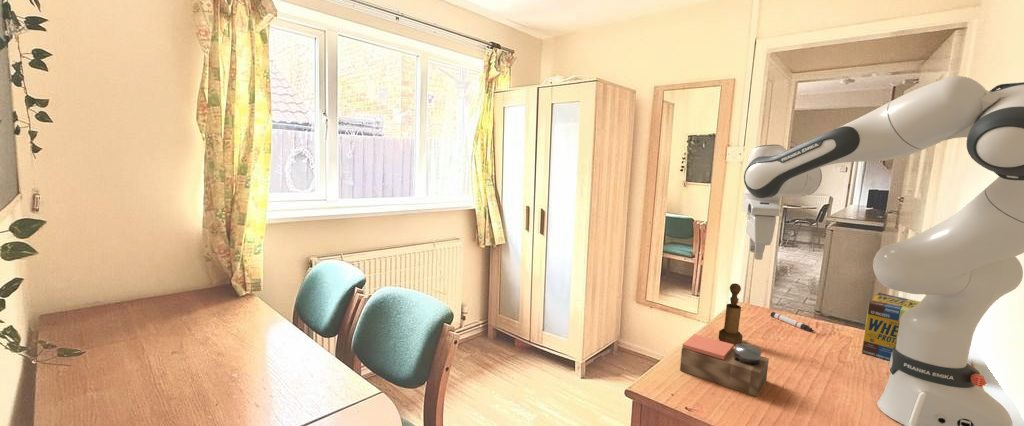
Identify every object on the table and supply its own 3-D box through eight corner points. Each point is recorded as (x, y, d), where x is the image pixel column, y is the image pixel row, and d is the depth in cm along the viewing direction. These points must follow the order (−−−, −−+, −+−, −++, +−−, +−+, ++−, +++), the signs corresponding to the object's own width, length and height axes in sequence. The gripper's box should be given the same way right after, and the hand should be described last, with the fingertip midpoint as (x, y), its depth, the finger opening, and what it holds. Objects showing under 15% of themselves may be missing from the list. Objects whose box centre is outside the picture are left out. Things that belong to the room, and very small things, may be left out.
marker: (770, 317, 154) (770, 311, 154) (774, 316, 155) (774, 311, 154) (811, 334, 140) (812, 328, 139) (816, 333, 140) (816, 327, 140)
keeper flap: (733, 348, 112) (733, 344, 112) (723, 359, 106) (724, 355, 106) (694, 337, 119) (694, 333, 119) (682, 347, 112) (682, 344, 112)
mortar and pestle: (745, 346, 128) (751, 288, 126) (721, 344, 130) (727, 286, 127) (738, 337, 135) (743, 281, 132) (715, 335, 136) (721, 280, 134)
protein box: (861, 353, 126) (868, 302, 124) (871, 339, 136) (878, 292, 134) (909, 367, 118) (917, 313, 116) (916, 351, 128) (924, 301, 126)
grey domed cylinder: (763, 382, 106) (766, 351, 105) (745, 386, 104) (748, 354, 103) (744, 371, 111) (747, 342, 110) (727, 374, 109) (730, 344, 108)
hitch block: (766, 380, 109) (768, 358, 108) (757, 396, 101) (759, 372, 100) (692, 357, 120) (694, 337, 119) (679, 370, 113) (681, 348, 112)
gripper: (743, 201, 127) (738, 247, 129) (752, 208, 109) (746, 262, 110) (767, 202, 125) (762, 249, 127) (781, 210, 106) (775, 265, 108)
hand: (755, 255), depth 119 cm, fingers open, 8 cm apart
